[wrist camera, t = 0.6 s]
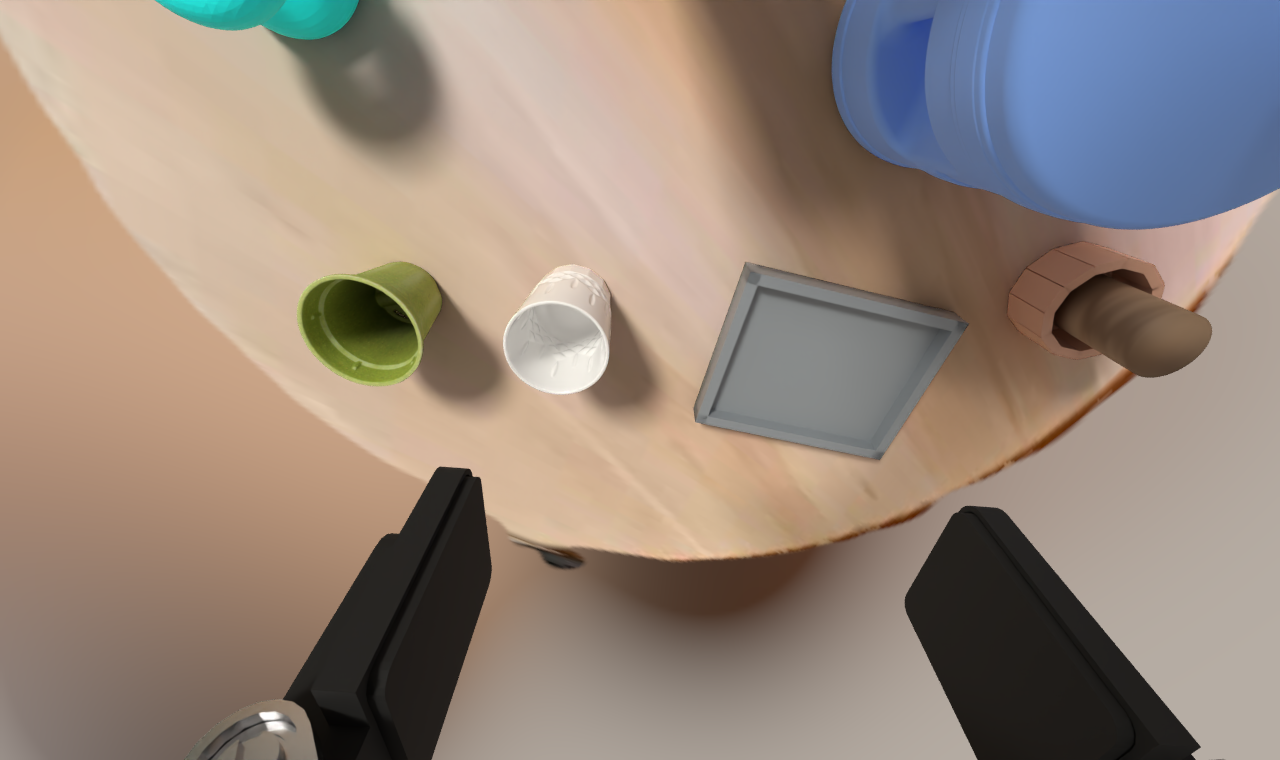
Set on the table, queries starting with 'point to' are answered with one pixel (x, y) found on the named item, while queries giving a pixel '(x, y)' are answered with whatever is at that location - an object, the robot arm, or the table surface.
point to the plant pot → (370, 322)
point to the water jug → (1071, 101)
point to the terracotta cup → (1057, 278)
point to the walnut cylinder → (1133, 326)
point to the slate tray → (822, 362)
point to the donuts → (268, 15)
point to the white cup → (561, 332)
